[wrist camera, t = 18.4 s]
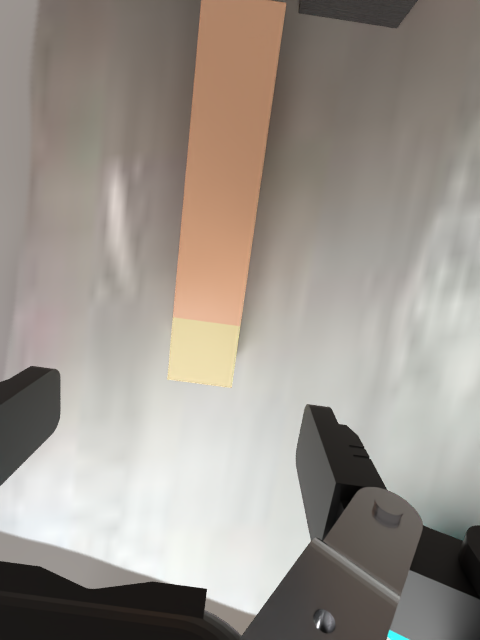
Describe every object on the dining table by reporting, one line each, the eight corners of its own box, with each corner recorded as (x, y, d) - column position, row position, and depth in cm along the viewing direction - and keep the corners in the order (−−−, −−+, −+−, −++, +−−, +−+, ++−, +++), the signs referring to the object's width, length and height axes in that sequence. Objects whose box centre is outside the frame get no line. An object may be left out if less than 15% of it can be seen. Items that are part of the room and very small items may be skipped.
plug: (276, 57, 21) (286, 3, 16) (233, 358, 26) (231, 387, 21) (212, 47, 21) (202, -11, 16) (181, 351, 25) (167, 379, 21)
